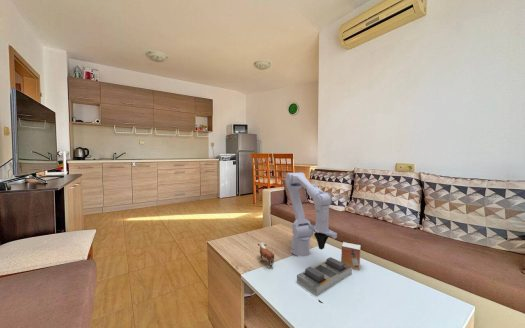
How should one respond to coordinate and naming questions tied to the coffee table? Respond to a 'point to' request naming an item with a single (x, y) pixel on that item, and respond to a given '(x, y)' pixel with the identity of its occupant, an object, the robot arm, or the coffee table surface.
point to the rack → (330, 278)
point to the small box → (351, 255)
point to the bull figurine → (266, 254)
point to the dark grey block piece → (314, 275)
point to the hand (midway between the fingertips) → (321, 248)
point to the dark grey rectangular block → (335, 264)
